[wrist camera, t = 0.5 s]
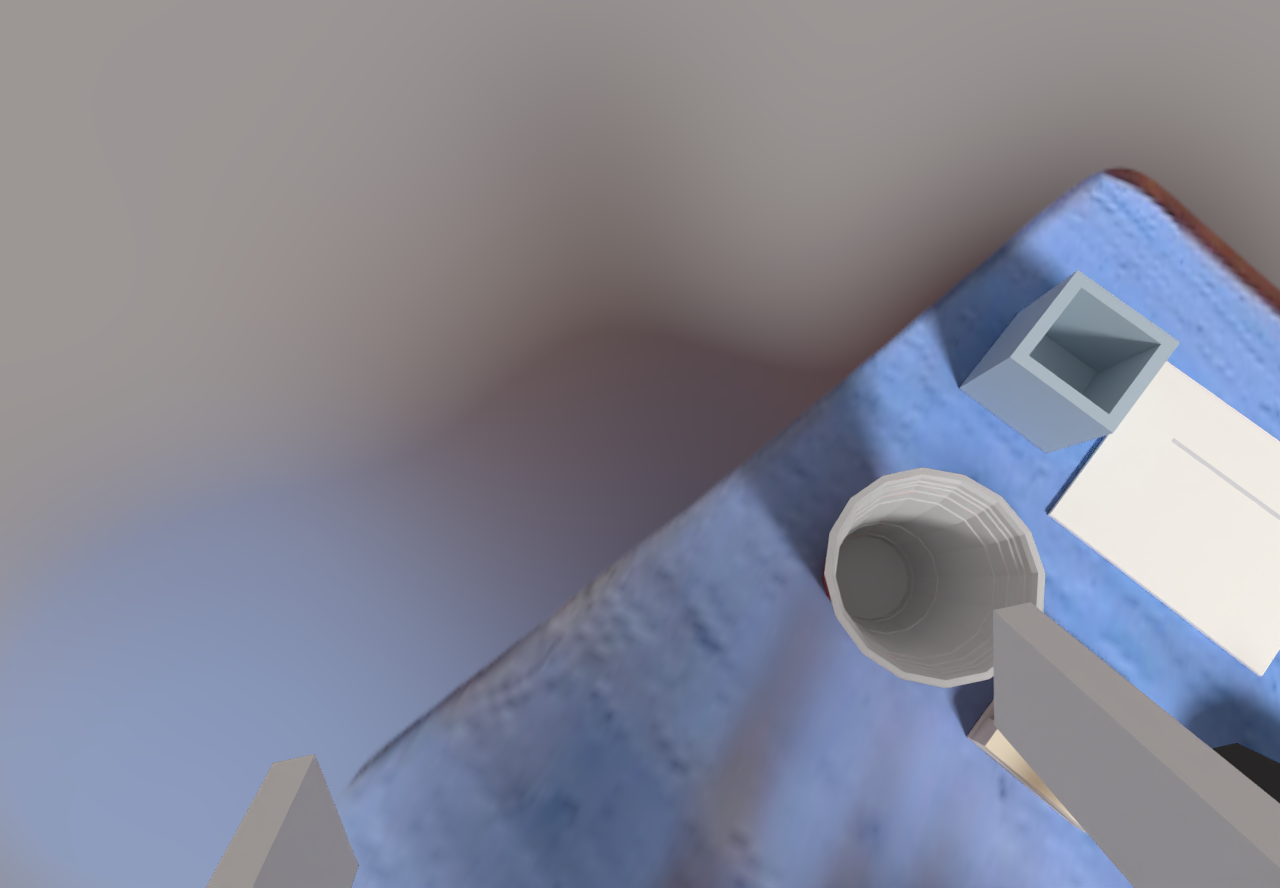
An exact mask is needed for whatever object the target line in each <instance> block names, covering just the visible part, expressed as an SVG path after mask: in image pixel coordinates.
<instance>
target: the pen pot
mask: <svg viewBox="0 0 1280 888" xmlns="http://www.w3.org/2000/svg"><path fill="white" fill-rule="evenodd" d="M1179 343H1180V342H1179V341H1177V340H1176V339H1175V338H1173V337H1172V336H1170V335H1169V334H1167V333H1166V332H1165V331H1163V330H1162V329H1160V328H1159V327H1158V326H1156V325H1155V324H1153V323H1152V322H1150V321H1149V320H1148V319H1146V318H1145V317H1143V316H1142V315H1141V314H1139V313H1138V312H1136V311H1135V310H1134V309H1132V308H1131V307H1129V306H1128V305H1126V304H1125V303H1124V302H1122V301H1121V300H1119V299H1118V298H1117V297H1115V296H1114V295H1112V294H1111V293H1109V292H1108V291H1107V290H1105V289H1104V288H1102V287H1101V286H1100V285H1098V284H1097V283H1095V282H1094V281H1092V280H1091V279H1090V278H1088V277H1087V276H1085V275H1084V274H1083V273H1081V272H1080V271H1078V270H1077V271H1076V272H1074V273H1073V274H1072V275H1070V276H1069V277H1067V278H1066V279H1065V280H1063V281H1062V282H1060V283H1059V284H1058V285H1056V286H1055V287H1053V288H1052V289H1051V290H1049V291H1048V292H1046V293H1045V294H1044V295H1042V296H1041V297H1039V298H1038V299H1037V300H1035V301H1034V302H1033V303H1031V304H1030V305H1028V306H1027V307H1026V308H1024V309H1023V310H1021V311H1020V312H1019V313H1018V314H1017V315H1016V316H1015V317H1014V319H1013V320H1012V321H1011V323H1010V324H1009V325H1008V326H1007V328H1006V329H1005V330H1004V331H1003V333H1002V334H1001V335H1000V337H999V338H998V339H997V340H996V342H995V343H994V344H993V345H992V347H991V348H990V349H989V351H988V352H987V353H986V354H985V356H984V357H983V358H982V359H981V361H980V362H979V363H978V365H977V366H976V367H975V368H974V370H973V371H972V372H971V373H970V375H969V376H968V377H967V379H966V380H965V381H964V382H963V384H962V385H961V386H960V387H959V389H961V390H962V391H963V392H965V393H966V394H967V395H969V396H970V397H971V398H973V399H974V400H975V401H977V402H978V403H979V404H981V405H982V406H983V407H985V408H986V409H987V410H989V411H990V412H991V413H993V414H994V415H995V416H997V417H998V418H999V419H1001V420H1002V421H1003V422H1005V423H1006V424H1007V425H1009V426H1010V427H1011V428H1013V429H1014V430H1015V431H1016V432H1018V433H1019V434H1020V435H1022V436H1023V437H1024V438H1026V439H1027V440H1028V441H1030V442H1031V443H1032V444H1034V445H1035V446H1036V447H1038V448H1039V449H1040V450H1042V451H1043V452H1044V453H1046V454H1047V453H1050V452H1053V451H1057V450H1060V449H1063V448H1066V447H1070V446H1073V445H1076V444H1079V443H1083V442H1086V441H1089V440H1092V439H1096V438H1099V437H1102V436H1105V435H1109V434H1112V433H1114V431H1115V430H1116V429H1117V427H1118V426H1119V424H1120V423H1121V422H1122V420H1123V419H1124V418H1125V416H1126V415H1127V414H1128V412H1129V411H1130V410H1131V408H1132V407H1133V405H1134V404H1135V403H1136V401H1137V400H1138V399H1139V397H1140V396H1141V395H1142V393H1143V392H1144V391H1145V389H1146V388H1147V386H1148V385H1149V384H1150V382H1151V381H1152V380H1153V378H1154V377H1155V376H1156V374H1157V373H1158V372H1159V370H1160V369H1161V368H1162V366H1163V365H1164V363H1165V362H1166V361H1167V359H1168V358H1169V357H1170V355H1171V354H1172V353H1173V351H1174V350H1175V349H1176V347H1177V346H1178V344H1179Z"/></svg>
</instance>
